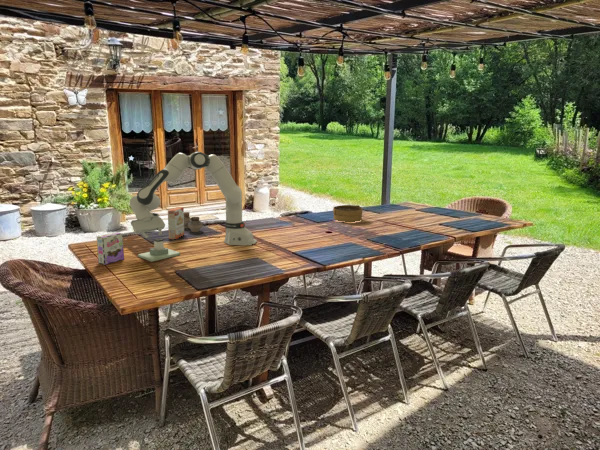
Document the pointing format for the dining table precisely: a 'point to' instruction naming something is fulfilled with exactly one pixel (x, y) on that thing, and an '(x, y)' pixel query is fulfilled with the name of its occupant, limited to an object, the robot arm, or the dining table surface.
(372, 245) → the dining table surface
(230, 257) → the dining table surface
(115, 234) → the candy box
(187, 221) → the pottery
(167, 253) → the holder plate
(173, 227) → the cracker box
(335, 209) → the steamer basket
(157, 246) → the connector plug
